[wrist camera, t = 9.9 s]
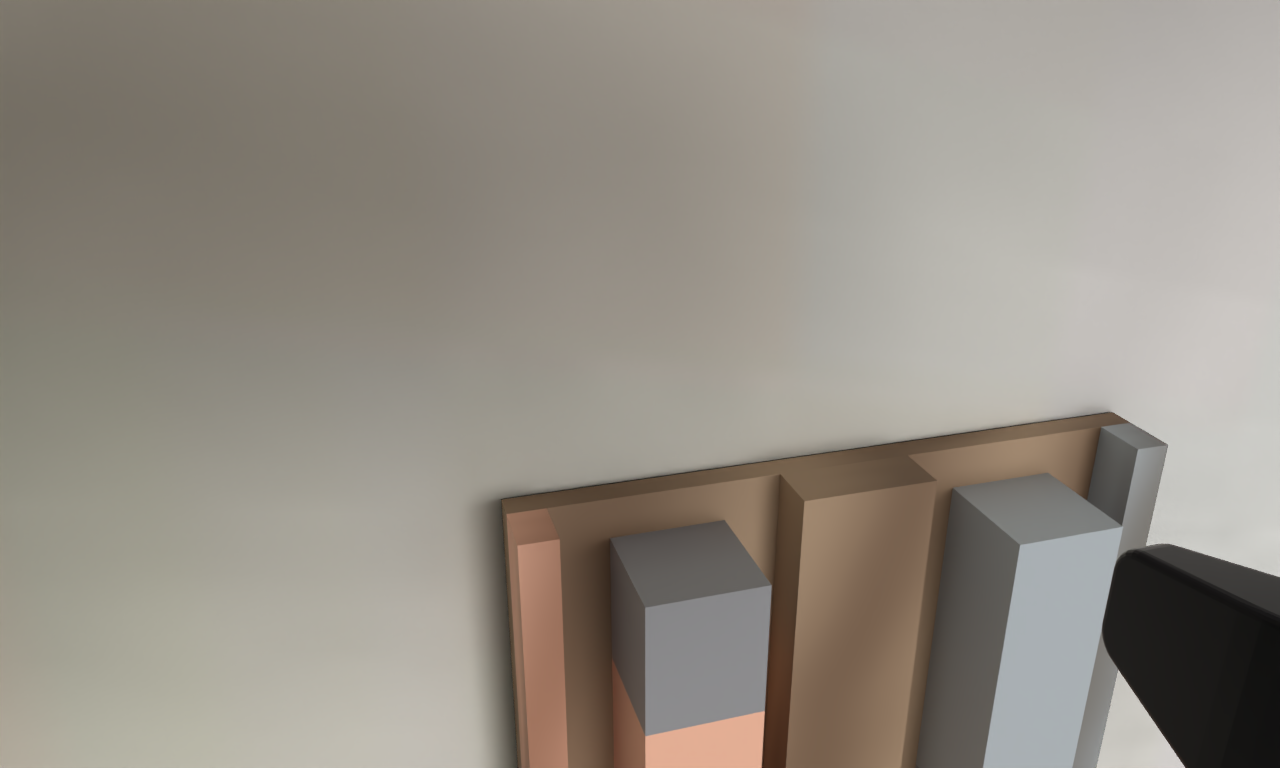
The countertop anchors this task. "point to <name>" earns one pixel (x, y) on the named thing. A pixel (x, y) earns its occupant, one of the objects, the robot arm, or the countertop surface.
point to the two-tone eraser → (688, 649)
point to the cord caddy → (801, 583)
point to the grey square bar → (1016, 625)
